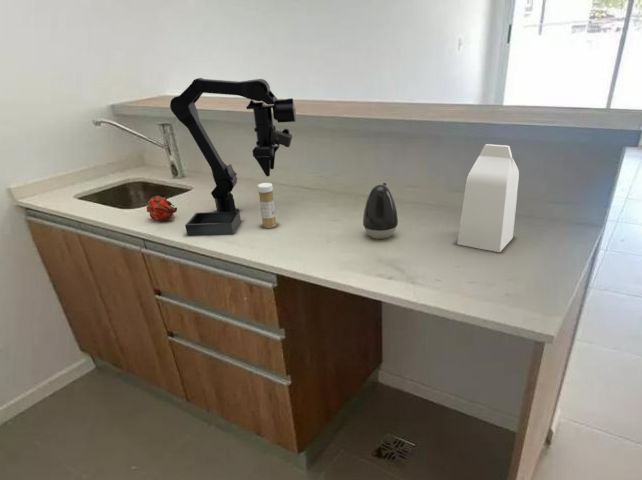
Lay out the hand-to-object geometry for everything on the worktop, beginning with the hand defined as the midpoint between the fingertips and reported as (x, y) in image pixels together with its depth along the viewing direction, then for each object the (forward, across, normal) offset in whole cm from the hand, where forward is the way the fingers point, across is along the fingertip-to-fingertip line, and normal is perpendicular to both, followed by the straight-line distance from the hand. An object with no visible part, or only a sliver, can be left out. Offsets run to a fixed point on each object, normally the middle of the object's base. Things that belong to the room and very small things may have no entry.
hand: (270, 172), depth 157 cm
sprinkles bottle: (+13, -16, -1) cm, 21 cm away
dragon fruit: (+13, -5, +38) cm, 40 cm away
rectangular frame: (+13, -16, +17) cm, 27 cm away
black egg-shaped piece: (+13, -27, -36) cm, 47 cm away
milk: (+13, -34, -65) cm, 75 cm away
